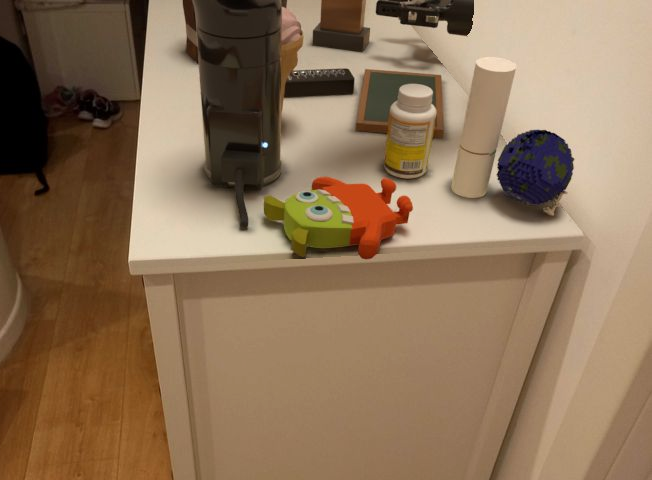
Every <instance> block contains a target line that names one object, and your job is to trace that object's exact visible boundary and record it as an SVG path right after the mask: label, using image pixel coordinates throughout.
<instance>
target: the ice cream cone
mask: <svg viewBox="0 0 652 480" xmlns="http://www.w3.org/2000/svg"><path fill="white" fill-rule="evenodd" d="M303 44H304V31H303V30H302V24H301V22H300V21H299V20H298V19H297V16H296V15H295V14H294V13H293V12H292V11H291V10H290V9H288V8H287V7H286V8H284V7H282V52H281V116H283V115H282V114H283V109H284V99H285V97H284V90H285V83H286V80H287V78H288V76H289V75H290V73H291V72H292V71H293V70H295V69H296V67H297V66H298V63H299V58H298V57H299V56H298V52H299V51H300V50H301V49H302V47H303Z"/></svg>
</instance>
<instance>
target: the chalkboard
mask: <svg viewBox="0 0 652 480" xmlns="http://www.w3.org/2000/svg"><path fill="white" fill-rule="evenodd" d="M442 82H443V81H442V74H434V73H421V72H411V71H409V72H408V71H397V70H385V69H384V70H383V69H370V68H364V73H363V80H362V85H361V92H360V97H359V104H358V109H357V115H356V122H355V131H356V132H368V133H378V134H379V133H380V134H387V132H388V123H389V114H390V107H391V105H392V104H393V103H394V102H395V101H397V100H398V94H399V89H400V87H401V86H403V85H406V84H421V85H425V86H427V87H429V88H431V89H432V91H433V96H432V103H431V104H433V105H434V107H435V108H436V112H437V113H436V120H435V126H434V132H433V138H437V139H438V138H439V139H443V138H444V133H445V121H444V99H443V83H442Z"/></svg>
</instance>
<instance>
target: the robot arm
mask: <svg viewBox="0 0 652 480" xmlns="http://www.w3.org/2000/svg"><path fill="white" fill-rule="evenodd" d="M192 2H193V5H194V10H195V18H196V30H197V45H198V61H199V63H198V74H199V87H200V89H199V90H200V102H201V117H202V130H203V143H204V144H203V145H204V157H205V161H204V171H205V174H206V176H207V177H208V178H209V179H210V185H211V186H215V187H224V188H234V195H235V203H236V208H237V211H238V212H237V213H238V215H239V226H240V228H242V229H247V228H248V227H249V215H248V214H249V213H248V210H247V206H246V202H245V195H244V194H245V193H244V189H246V190H255V191H256V190H257V191H261V190H263V188H264V186H265V185H268V184H270V183H272V182H274V181H275V180H277V179H278V178H279V176H280V175H281V173H282V160H281V153H282V152H281V149H282V148H281V147H282V145H281V144H282V143H281V138H282V137H281V134H282V133H281V131H282V128H281V127H282V126H281V125H282V115H281V52H282V3H281V0H192ZM375 14H376V16H380V17H388V18H396V19H398V20H399V25H400V24H401V25H405V26H416V27H422V28H423V27H424V28H431V29H436V28H438V27H439V22H447V24H446V32H447V34H449V35H453V36H460V37H461V36H462V37H468V36H467V35H468V34H469V33H470V31H471V29H472V25H473V21H472V18H473V15H474V0H377V1H376V3H375Z"/></svg>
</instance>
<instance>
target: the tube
mask: <svg viewBox="0 0 652 480" xmlns="http://www.w3.org/2000/svg"><path fill="white" fill-rule="evenodd" d="M516 70H517V64H516V63H515V62H514V61H511V60H509V59H506V58H503V57H497V56H485V57H480V58H478V59H476V60H475V66H474V69H473V74H472V75H473V76H472V81H471V84H470V90H469V96H468V100H467V105H466V110H465V115H464V120H463V126H462V130H461V134H460V140H459V145H458V150H457V156H456V161H455V166H454V171H453V176H452V181H451V186H450V189H451V191H452V192H453V193H454V194H455V195H458V196H460V197H462V198H467V199H477V198H478V199H479V198H482V197H484V196H485V195H486V194H487V192H488V187H489V183H490V180H491V179H490V178H491V176H492V175H491V174H492V170H493V166H494V162H495V159H496V158H495V157H496V154H497V148H498V145H499V142H500V139H501V138H500V137H501V133H502V129H503V125H504V120H505V116H506V112H507V108H508V104H509V100H510V96H511V91H512V86H513V83H514V78H515V74H516Z"/></svg>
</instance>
